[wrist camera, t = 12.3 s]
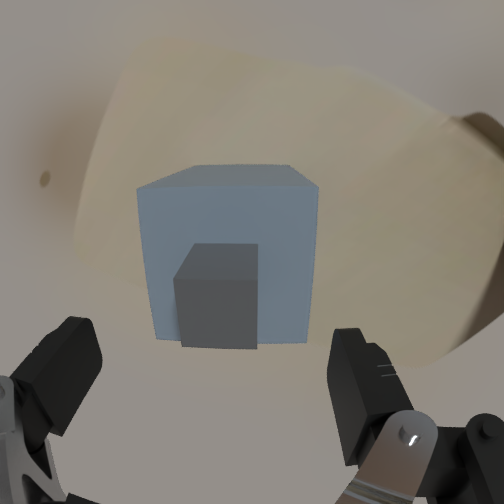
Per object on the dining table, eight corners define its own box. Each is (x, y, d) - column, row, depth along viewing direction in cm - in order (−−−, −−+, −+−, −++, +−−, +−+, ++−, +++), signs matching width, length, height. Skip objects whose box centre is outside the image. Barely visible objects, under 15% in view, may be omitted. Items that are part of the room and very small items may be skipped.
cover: (288, 165, 27) (341, 204, 10) (286, 253, 30) (317, 394, 13) (195, 165, 27) (96, 206, 10) (199, 252, 30) (134, 386, 13)
